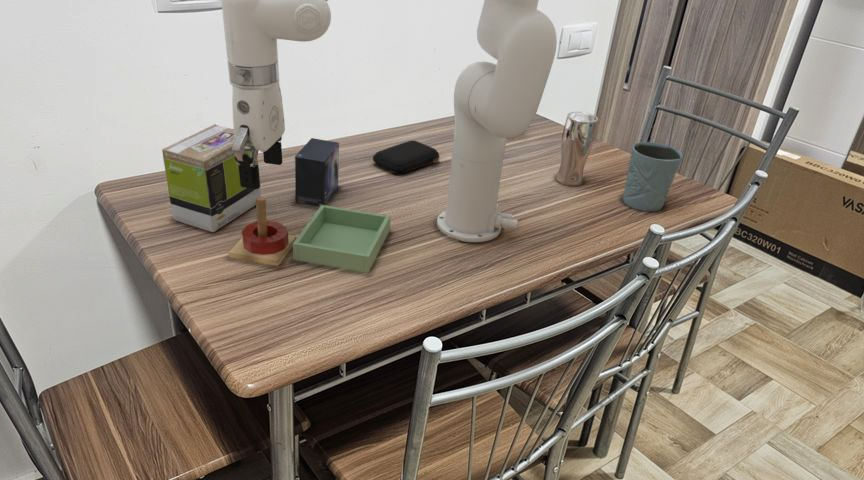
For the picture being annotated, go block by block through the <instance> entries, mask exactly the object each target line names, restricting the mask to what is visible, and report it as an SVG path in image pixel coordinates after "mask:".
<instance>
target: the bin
mask: <svg viewBox="0 0 864 480" xmlns="http://www.w3.org/2000/svg"><path fill="white" fill-rule="evenodd" d="M390 231H391V215H387V214H381V213H376V212H368V211H363V210H356V209H351V208H344V207H338V206H332V205H321V206H320V207H319V208H318V209H317V210H316V212H314V214H313V215H312V217H311V218H310V220H309V221H308V222H307V224H305V227H304V228H303V229H302V230H301V232H300V233H299V234H298V235H297V236H296V240H295V241H294V243H293V246H292V260H293V261H299V262H304V263H309V264H315V265H321V266H327V267H331V268H337V269H338V268H339V269H344V270H350V271H354V272H361V273H367V274H368V273H369V272H370V271H371V268H372V267H373V265H374V263H375V260H376V259H377V257H378V255H379V254H380V251H381V249H382V247H383V245H384V243H385V241H386V239H387V237H388V235H389V233H390Z"/></svg>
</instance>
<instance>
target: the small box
mask: <svg viewBox="0 0 864 480" xmlns="http://www.w3.org/2000/svg"><path fill="white" fill-rule="evenodd" d="M339 162H340V142H337V141H331V140H325V139H319V138H314V137H311V138H310V139H309V140H308V141H307V142H306V144H305V145H304V146H303V147H302V148H301V149H300V150H299V151H298V153H296V154H295V156H294V179H295V180H294V181H295V187H294V189H295V193H294V194H295V195H294V203H295V204H300V205H306V206H313V207H319V208H320V206H321V205H325V206H327V204H328V202H329V201H330V199H331V198H332V196H333V195H334V194H335V193H336V191H337V190H338V189H339V165H340V164H339Z"/></svg>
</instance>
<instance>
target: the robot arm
mask: <svg viewBox="0 0 864 480" xmlns="http://www.w3.org/2000/svg"><path fill="white" fill-rule="evenodd" d="M220 1H221V10H222V11H221V12H222V21H223V30H224V31H223V32H224V40H225V49H226V60H227V69H228V78H229V79H228V80H229V85H231V86H232V125H233V129H234V136H235V142H234V144H233V146H232V150H233V153H234V155H235V160H236V161H237V165H238V167H239V176H240V185H241V187H245V188H252V189H259V188H260V189H261V179H260V167H259V166H260V165H259V164H258V165H256V161H257V160H258V156H259V152H260V153H262V154H263V163H265V164H269V165H276V166H281V165H282V164H283V150H282V139H283V135H284V133H285V131H286V125H285V112H284V104H283V96H282V90H281V85H280V71H279V54H278V40H285V41H292V42H301V43H302V42H313V41H316V40H318V39H320V38H322V36H324V35H325V34H326V33H327V31H328V30H329V27H330V25H331V21H332V12H331V8H330V6H329V2H328V1H329V0H220ZM538 4H539V0H483V4H482V9H481V12H480V16H479V19H478V23H477V28H476V39H477V42H478V44H479V46H480V48H481V49H482V50H483V51H484V52H485V53H487V54H488V55H489V56H490V57H492V58H493V59H494V60H497V61H496V64H495V63H493V62H491V61H490V62H489V61H477V62H473V63H471V64H469V65H468V66H466V67H464V69H463V70H462V71H461V72H460V74H459V75H458V78H457V79H456V82H455V85H454V89H453V90H454V91H453V111H454V127H453V128H454V131H453V143H452V151H451V159H450V160H451V162H450V169H449V179H448V188H447V189H448V190H447V198H446V208H445V210H443V211H442V212H440V213H439V215H437V218H436V226H437V229H438V230H439V231H440V232H441V233H443V234H444V235H446V236H448V237H450V238H452V239H455V240H458V241H459V242H465V243H483V242H489V241H491V240H493V239H495V238H497V237H498V236H499V235H500V234H501V231H502V228H506V229H510V230H517V228H518V223H519V219H518V218H517V219H515V218H513V215H514V213H513V214H512V213H508V212H507V213H506V212H505V213H504V212H502V211H500V210H499V206H500V205H499V203H498V198H499V191H500V185H501V178H502V171H503V164H504V157H505V153H506V143H507V139H513V138H516V137H518V136H520V135H522V134H523V133H524V132H525V131H526V130H527V129H528V128H529V127H530V125H531V124H532V123H533V121H534V119H535V117H536V115H537V112H538V109H539V107H540V103H541V101H542V98H543V95H544V92H545V88H546V85H547V82H548V81H549V80H548V79H549V76H550V73H551V69H552V67H553V65H554V64H553V63H554V61H555V57H556V54H557V53H556V52H557V45H558V43H557V42H558V38H557V31H556V28H555V26H554V25H555V24H554V23H553V22H552V20H551V18H549V16H548V15H546V14H545V13H544V12H542V11H540V10H538ZM247 144H253V145H254V146H247ZM245 151H251V152H252V155H251V158H250V157H249V156H248V155H247V154H245Z"/></svg>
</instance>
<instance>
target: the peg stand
mask: <svg viewBox="0 0 864 480" xmlns="http://www.w3.org/2000/svg"><path fill="white" fill-rule="evenodd" d="M266 202H267V201H266V197H265V196H264V195H263V196H262V195H261V196H259V197H256V205H255V206H256V208H255V209H256V222H257V225H258V237H262V238H265V237H268V236H267V221H268V219H267V203H266ZM296 239H297V236H296V235H291V234H288V241H289V244H288V245H287V246H286V248H285V249H284V250H282V251H280V252H277V253H274V254H265V255H262V254H256V253H251V252H250V251H248V250H246V249H245V248H244V246H243V239H242V237H240V239H239V240H238V241H237V242H236V243H235V245H234V246H233V247H232V248H231V249H230V250H229V251H228V257H229V258H231V259H237V260H241V261H242V260H243V261H247V262H248V261H249V262H253V263H260V264H265V265H272V266H275V267H279V265H280V264H281V263H282V262H283V260H284V259H285V257H286V256H287V255H288V254H289V252H290V250H291V249H293V243H294V241H295V240H296Z"/></svg>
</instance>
